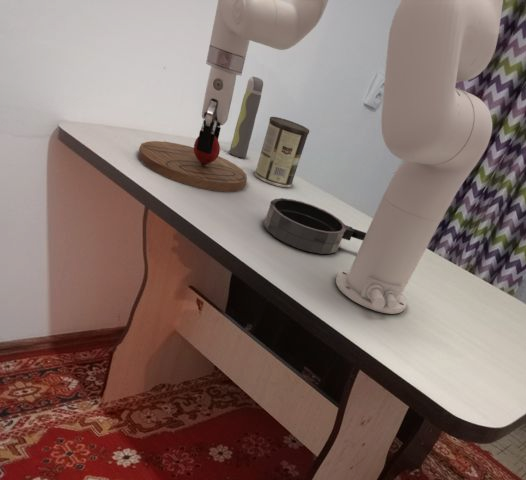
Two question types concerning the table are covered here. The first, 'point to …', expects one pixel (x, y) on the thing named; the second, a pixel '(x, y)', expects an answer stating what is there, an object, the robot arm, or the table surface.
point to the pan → (304, 226)
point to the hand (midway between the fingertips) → (206, 147)
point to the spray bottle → (247, 118)
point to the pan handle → (353, 233)
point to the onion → (205, 157)
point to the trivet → (191, 167)
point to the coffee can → (281, 152)
